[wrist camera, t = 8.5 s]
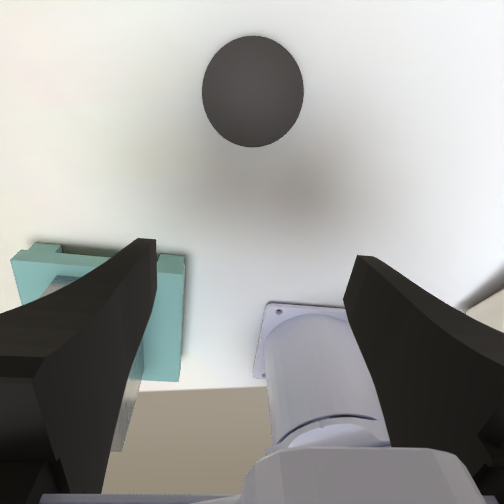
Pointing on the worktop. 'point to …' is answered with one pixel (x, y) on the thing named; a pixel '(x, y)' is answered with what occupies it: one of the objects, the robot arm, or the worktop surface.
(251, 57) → the dark gray disc
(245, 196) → the worktop surface
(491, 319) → the spotlight
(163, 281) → the stand
